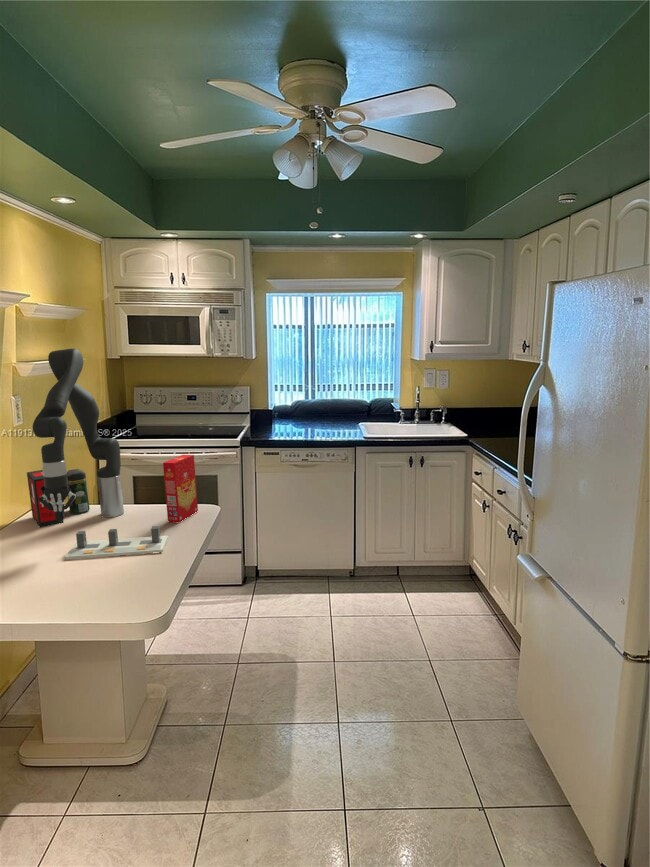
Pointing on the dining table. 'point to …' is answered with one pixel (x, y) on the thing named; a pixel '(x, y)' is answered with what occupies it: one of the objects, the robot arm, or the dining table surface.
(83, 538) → the switch
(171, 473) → the food packaging
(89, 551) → the switch panel
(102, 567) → the dining table surface
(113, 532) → the middle switch
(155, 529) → the switch
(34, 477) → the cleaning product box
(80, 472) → the coffee jar
